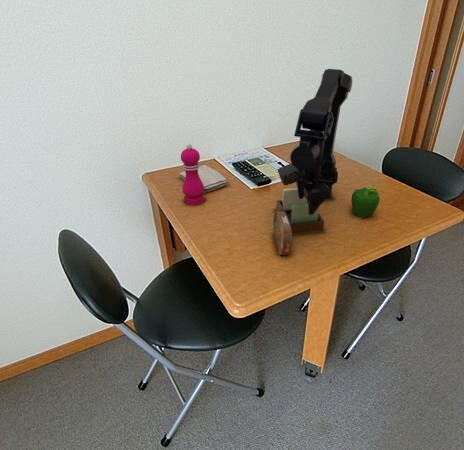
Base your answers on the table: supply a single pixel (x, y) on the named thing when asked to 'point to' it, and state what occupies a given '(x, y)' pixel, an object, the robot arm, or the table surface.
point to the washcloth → (209, 178)
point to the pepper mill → (192, 176)
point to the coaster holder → (302, 226)
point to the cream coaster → (291, 199)
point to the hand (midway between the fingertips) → (305, 206)
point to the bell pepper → (365, 202)
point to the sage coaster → (302, 214)
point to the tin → (282, 232)
